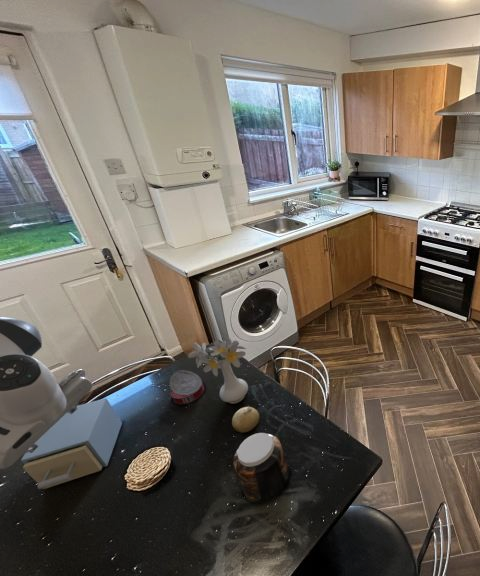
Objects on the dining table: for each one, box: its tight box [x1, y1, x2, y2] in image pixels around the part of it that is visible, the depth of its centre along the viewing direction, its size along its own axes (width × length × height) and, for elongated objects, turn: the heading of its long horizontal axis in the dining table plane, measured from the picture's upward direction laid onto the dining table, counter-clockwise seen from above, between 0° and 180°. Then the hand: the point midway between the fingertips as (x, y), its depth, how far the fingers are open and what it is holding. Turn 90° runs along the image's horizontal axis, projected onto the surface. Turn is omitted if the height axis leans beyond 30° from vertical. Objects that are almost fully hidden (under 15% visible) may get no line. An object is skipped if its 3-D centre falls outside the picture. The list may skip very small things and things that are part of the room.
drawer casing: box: [20, 397, 123, 469], centre depth 91 cm, size 16×14×12 cm
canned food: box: [168, 369, 205, 405], centre depth 112 cm, size 11×10×10 cm
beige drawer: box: [22, 444, 103, 490], centre depth 87 cm, size 19×13×10 cm, turn 24°
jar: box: [232, 432, 290, 504], centre depth 82 cm, size 12×12×15 cm
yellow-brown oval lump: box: [231, 404, 260, 433], centre depth 99 cm, size 8×8×7 cm
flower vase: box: [187, 335, 249, 405], centre depth 105 cm, size 13×18×25 cm
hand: (52, 428), depth 74 cm, fingers open, 8 cm apart
